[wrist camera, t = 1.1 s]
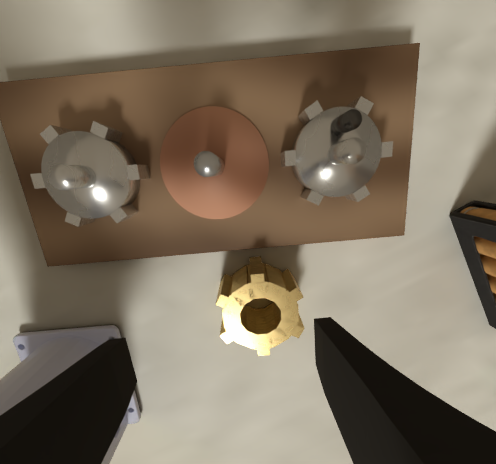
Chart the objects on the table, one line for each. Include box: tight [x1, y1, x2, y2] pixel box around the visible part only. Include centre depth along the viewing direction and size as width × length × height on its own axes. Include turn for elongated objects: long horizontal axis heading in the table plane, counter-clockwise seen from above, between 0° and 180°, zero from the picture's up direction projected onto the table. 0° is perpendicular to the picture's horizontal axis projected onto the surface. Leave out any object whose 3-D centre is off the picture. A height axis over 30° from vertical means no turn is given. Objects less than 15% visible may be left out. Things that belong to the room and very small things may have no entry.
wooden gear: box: [216, 256, 304, 356], centre depth 16 cm, size 6×6×3 cm
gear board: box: [0, 43, 420, 266], centre depth 15 cm, size 11×24×1 cm, turn 95°
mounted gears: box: [30, 96, 393, 227], centre depth 13 cm, size 6×20×3 cm, turn 95°
